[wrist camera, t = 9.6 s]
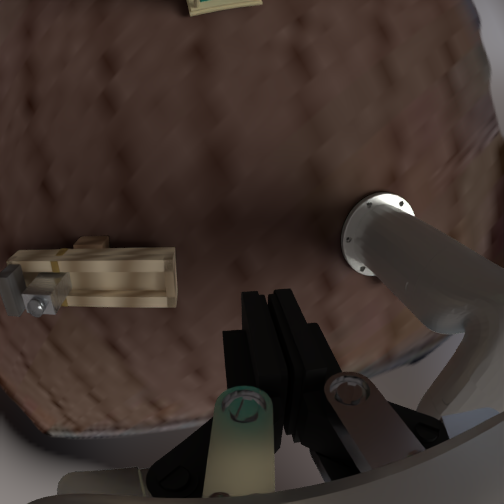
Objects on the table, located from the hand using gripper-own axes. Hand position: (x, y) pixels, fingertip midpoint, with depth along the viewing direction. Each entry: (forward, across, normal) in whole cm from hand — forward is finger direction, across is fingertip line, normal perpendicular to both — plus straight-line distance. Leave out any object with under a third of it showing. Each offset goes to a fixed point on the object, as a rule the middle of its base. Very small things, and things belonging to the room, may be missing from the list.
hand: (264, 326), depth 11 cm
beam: (+28, +18, +9) cm, 34 cm away
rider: (+22, +22, +9) cm, 32 cm away
